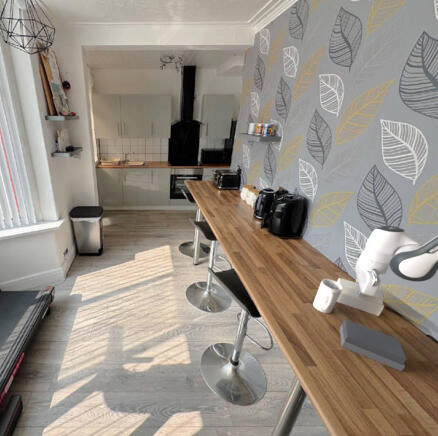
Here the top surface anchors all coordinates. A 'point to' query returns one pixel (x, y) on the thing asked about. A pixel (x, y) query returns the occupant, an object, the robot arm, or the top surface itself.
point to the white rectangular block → (360, 303)
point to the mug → (327, 295)
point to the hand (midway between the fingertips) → (358, 291)
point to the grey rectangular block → (372, 344)
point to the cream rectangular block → (355, 288)
